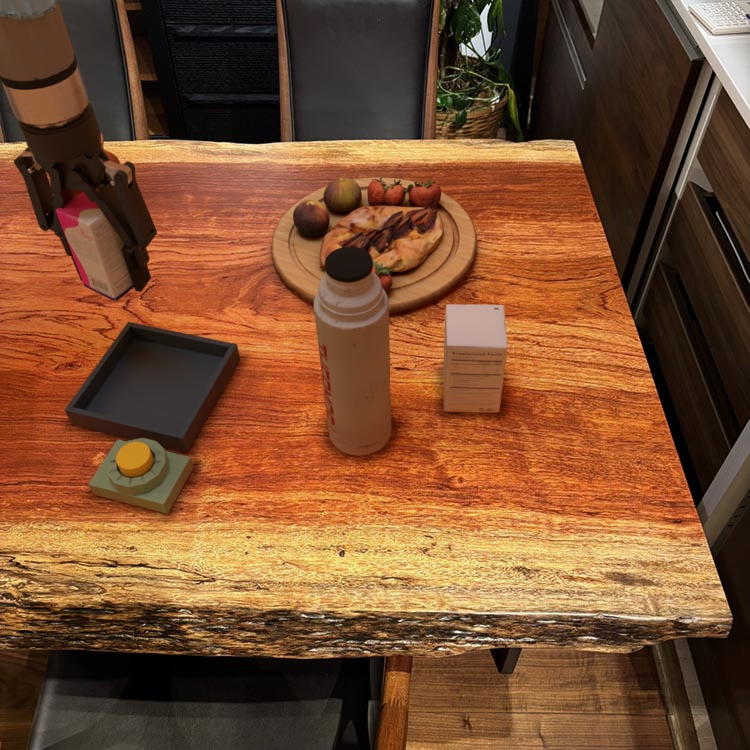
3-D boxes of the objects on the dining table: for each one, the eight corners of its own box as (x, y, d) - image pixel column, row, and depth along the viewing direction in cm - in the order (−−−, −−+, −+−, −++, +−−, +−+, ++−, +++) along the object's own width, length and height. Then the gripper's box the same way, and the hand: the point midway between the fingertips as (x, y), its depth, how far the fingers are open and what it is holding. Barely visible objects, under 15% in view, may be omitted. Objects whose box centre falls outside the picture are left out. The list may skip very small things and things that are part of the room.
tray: (71, 425, 104) (64, 410, 102) (133, 336, 114) (128, 321, 112) (187, 453, 100) (182, 438, 98) (240, 359, 111) (237, 343, 108)
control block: (93, 494, 97) (83, 475, 94) (122, 449, 101) (113, 429, 98) (168, 514, 94) (160, 495, 91) (193, 467, 99) (187, 447, 96)
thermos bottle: (329, 458, 99) (308, 289, 78) (327, 408, 104) (307, 238, 83) (394, 453, 99) (390, 284, 78) (389, 404, 104) (384, 232, 84)
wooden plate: (452, 336, 112) (454, 292, 106) (241, 299, 119) (231, 255, 113) (493, 202, 133) (497, 158, 126) (310, 176, 139) (306, 134, 133)
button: (113, 473, 94) (109, 464, 93) (130, 447, 97) (126, 438, 95) (143, 481, 93) (140, 472, 92) (159, 454, 96) (156, 445, 95)
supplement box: (150, 275, 100) (126, 199, 92) (116, 303, 97) (87, 227, 88) (116, 259, 102) (90, 184, 94) (82, 286, 99) (51, 210, 91)
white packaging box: (442, 370, 108) (445, 301, 99) (497, 371, 108) (506, 303, 98) (441, 413, 103) (445, 345, 94) (499, 414, 103) (509, 346, 93)
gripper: (157, 102, 83) (201, 272, 100) (-8, 82, 87) (62, 248, 104) (122, 141, 78) (175, 313, 95) (-50, 118, 82) (30, 286, 99)
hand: (116, 279), depth 99 cm, fingers closed on supplement box, 7 cm apart
